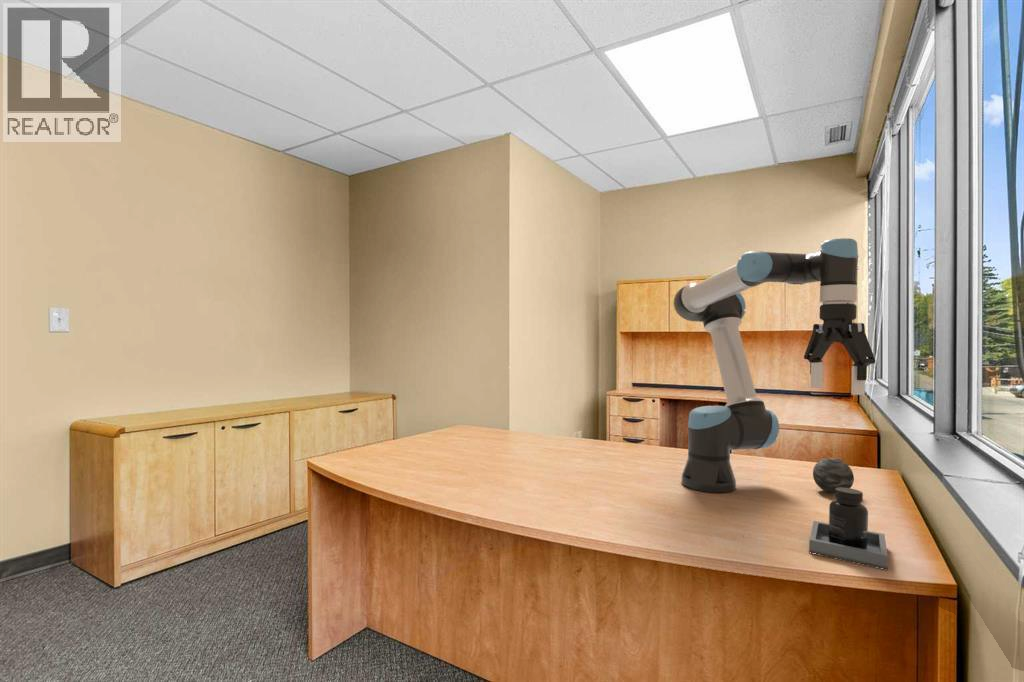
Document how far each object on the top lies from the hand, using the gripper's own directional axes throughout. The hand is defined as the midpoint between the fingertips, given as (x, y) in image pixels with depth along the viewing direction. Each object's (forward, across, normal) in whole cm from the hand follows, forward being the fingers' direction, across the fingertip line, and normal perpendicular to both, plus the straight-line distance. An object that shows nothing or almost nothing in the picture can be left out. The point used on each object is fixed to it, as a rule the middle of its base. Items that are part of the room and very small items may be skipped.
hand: (836, 391), depth 122 cm
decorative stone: (+32, +21, -16) cm, 41 cm away
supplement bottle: (+31, -16, +9) cm, 36 cm away
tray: (+32, -16, +9) cm, 37 cm away
